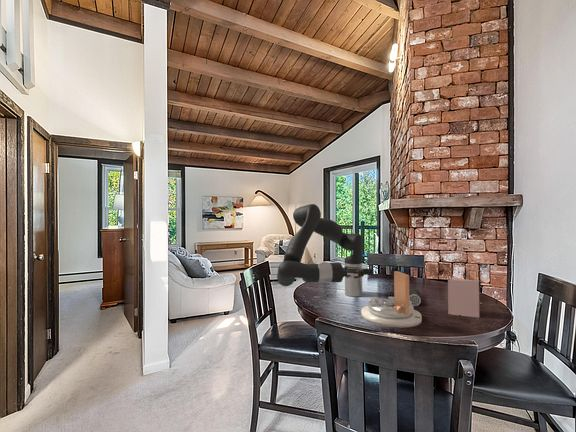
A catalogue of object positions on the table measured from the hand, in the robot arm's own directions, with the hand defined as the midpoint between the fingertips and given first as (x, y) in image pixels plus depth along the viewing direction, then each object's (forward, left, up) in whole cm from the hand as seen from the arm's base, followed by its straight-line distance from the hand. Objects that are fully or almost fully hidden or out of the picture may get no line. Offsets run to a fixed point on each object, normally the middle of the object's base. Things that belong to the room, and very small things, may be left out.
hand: (371, 271), depth 116 cm
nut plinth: (-13, +2, -21) cm, 25 cm away
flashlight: (-43, +2, -21) cm, 48 cm away
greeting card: (-35, +24, -21) cm, 48 cm away
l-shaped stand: (-12, +3, -19) cm, 22 cm away
